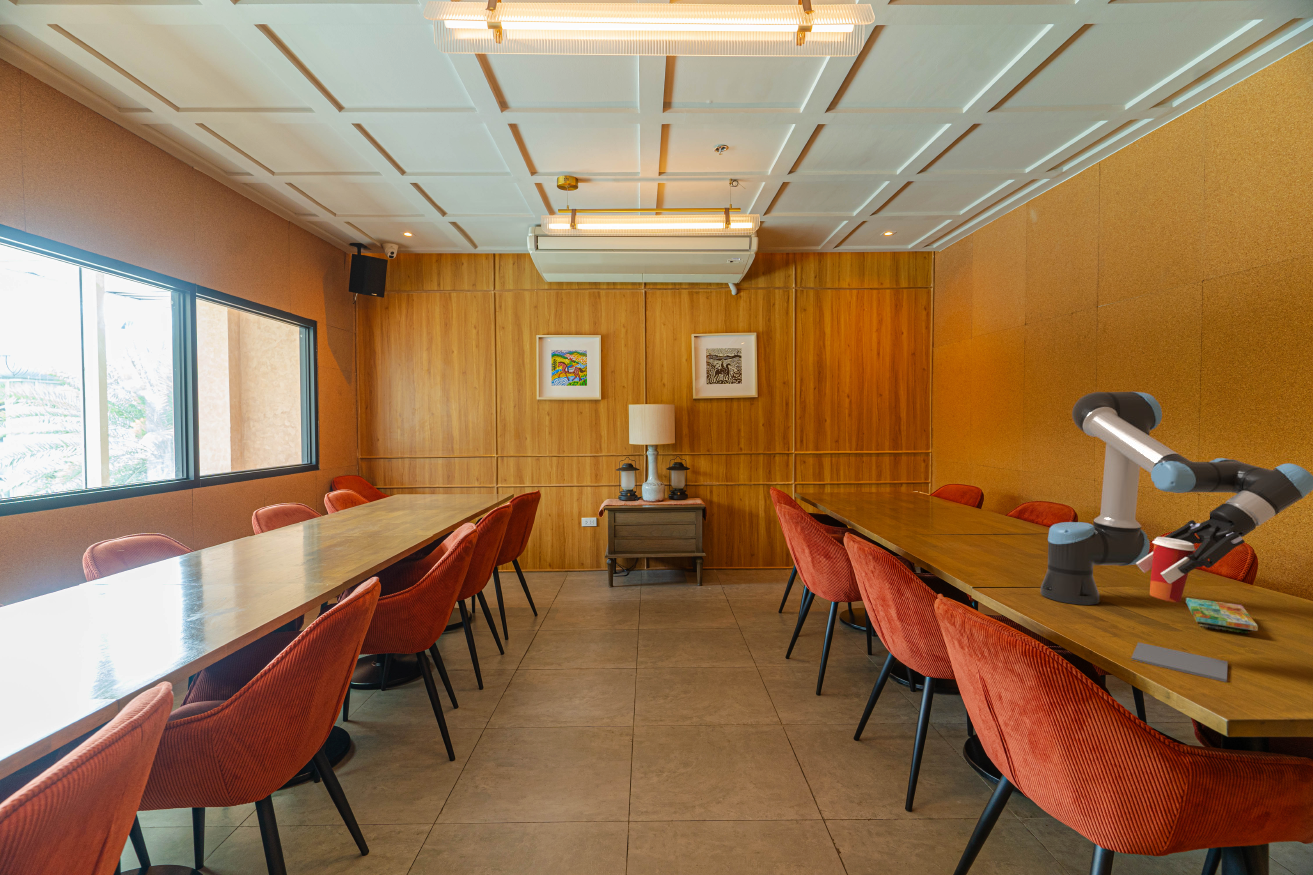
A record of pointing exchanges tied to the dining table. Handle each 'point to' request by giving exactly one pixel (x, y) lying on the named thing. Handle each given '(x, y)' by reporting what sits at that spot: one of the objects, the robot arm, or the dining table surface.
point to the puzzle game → (1221, 615)
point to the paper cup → (1163, 558)
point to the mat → (1181, 661)
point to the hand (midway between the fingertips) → (1152, 572)
